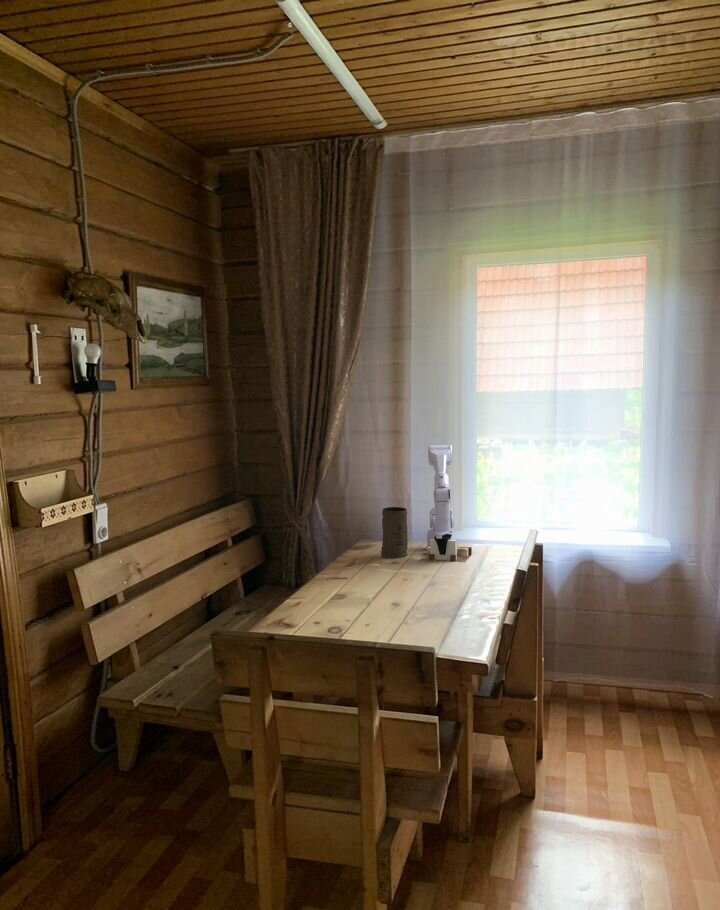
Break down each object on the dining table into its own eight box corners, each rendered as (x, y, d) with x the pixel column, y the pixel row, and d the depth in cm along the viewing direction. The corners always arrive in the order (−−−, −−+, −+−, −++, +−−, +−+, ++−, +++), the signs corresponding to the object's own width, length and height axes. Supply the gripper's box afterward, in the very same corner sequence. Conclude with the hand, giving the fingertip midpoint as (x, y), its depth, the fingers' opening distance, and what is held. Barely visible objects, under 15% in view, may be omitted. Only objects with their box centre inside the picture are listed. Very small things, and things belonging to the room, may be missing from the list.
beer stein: (414, 558, 277) (413, 508, 275) (392, 562, 271) (391, 511, 269) (391, 552, 289) (389, 504, 288) (370, 556, 283) (368, 507, 282)
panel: (430, 559, 270) (429, 540, 269) (431, 557, 272) (431, 538, 272) (455, 560, 266) (455, 541, 266) (457, 559, 269) (456, 539, 268)
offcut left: (427, 555, 277) (427, 547, 277) (429, 553, 280) (428, 546, 280) (442, 555, 275) (441, 548, 275) (443, 554, 278) (443, 546, 278)
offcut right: (451, 556, 274) (451, 548, 274) (453, 554, 277) (453, 547, 277) (467, 556, 272) (466, 549, 272) (468, 555, 275) (468, 547, 275)
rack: (418, 562, 269) (418, 552, 269) (427, 554, 282) (427, 545, 282) (465, 564, 263) (464, 554, 263) (471, 556, 276) (471, 547, 276)
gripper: (448, 522, 260) (449, 558, 261) (456, 516, 274) (457, 550, 275) (430, 521, 262) (431, 557, 263) (439, 515, 276) (440, 549, 277)
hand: (443, 553), depth 269 cm, fingers closed on panel, 3 cm apart
